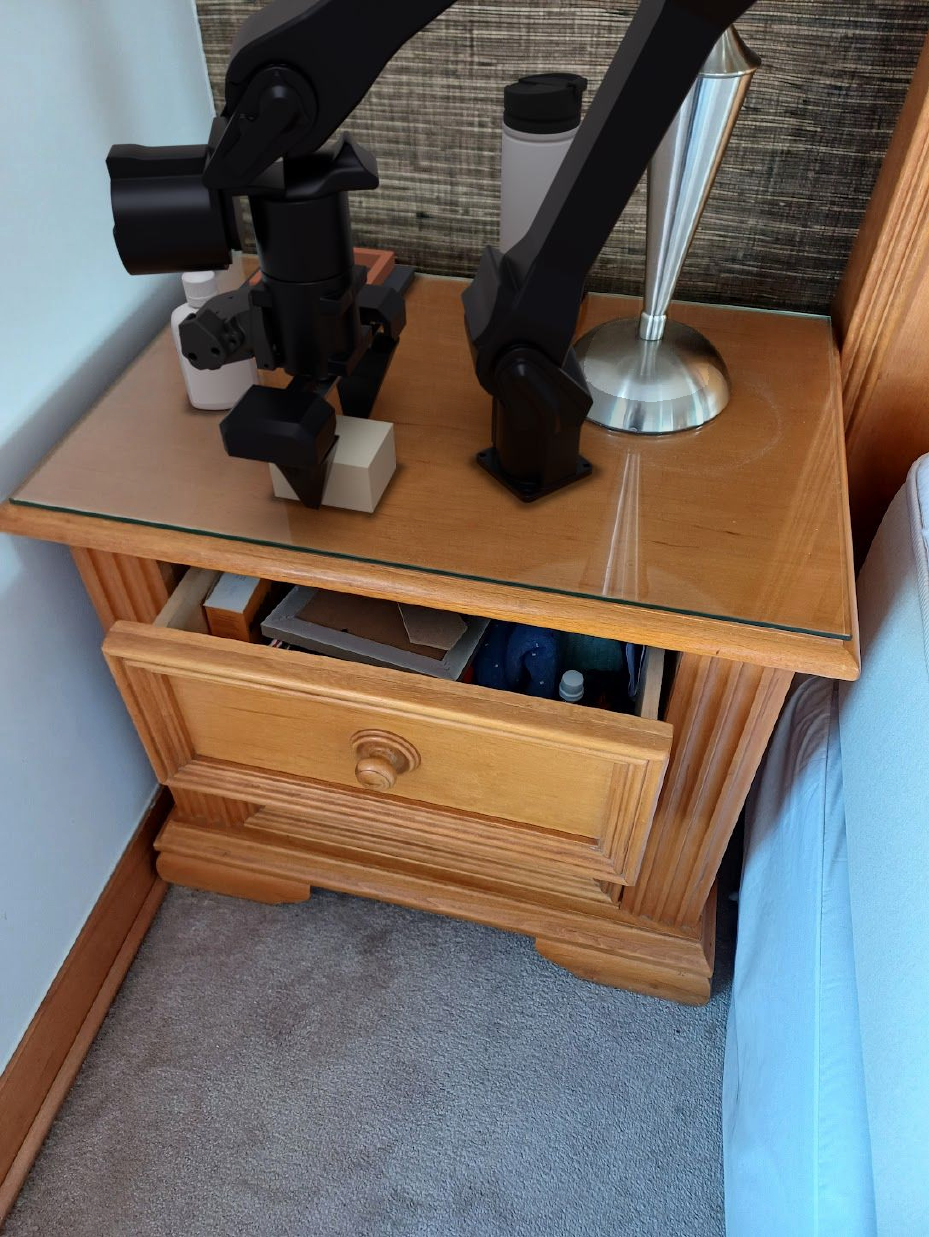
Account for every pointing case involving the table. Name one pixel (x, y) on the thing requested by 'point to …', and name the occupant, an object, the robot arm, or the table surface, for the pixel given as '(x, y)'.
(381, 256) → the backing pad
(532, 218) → the travel mug
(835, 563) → the table surface
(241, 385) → the eye dropper bottle
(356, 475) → the cream block
